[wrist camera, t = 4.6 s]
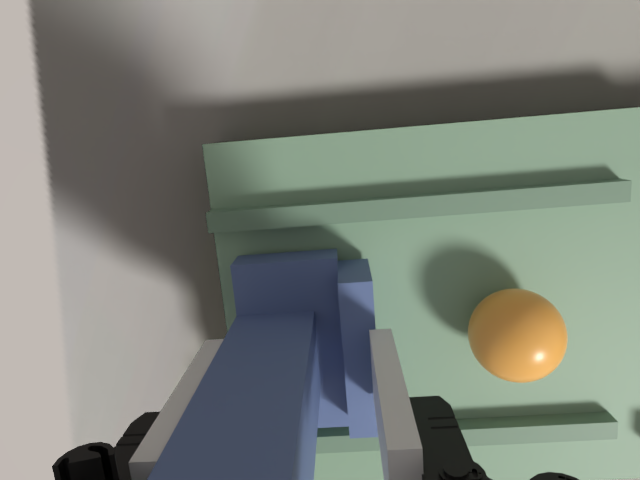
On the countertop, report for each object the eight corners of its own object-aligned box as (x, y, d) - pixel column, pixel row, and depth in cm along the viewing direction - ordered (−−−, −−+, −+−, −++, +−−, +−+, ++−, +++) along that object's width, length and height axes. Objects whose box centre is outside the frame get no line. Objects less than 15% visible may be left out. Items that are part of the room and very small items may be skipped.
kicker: (235, 255, 20) (12, 530, 6) (366, 246, 20) (428, 512, 6) (255, 411, 21) (109, 900, 8) (377, 404, 21) (444, 901, 8)
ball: (457, 279, 20) (481, 311, 17) (545, 274, 20) (588, 304, 16) (459, 358, 21) (482, 404, 17) (543, 353, 21) (584, 398, 17)
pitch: (217, 142, 22) (196, 145, 18) (638, 106, 21) (694, 102, 17) (257, 459, 25) (245, 508, 22) (619, 442, 24) (662, 490, 21)
